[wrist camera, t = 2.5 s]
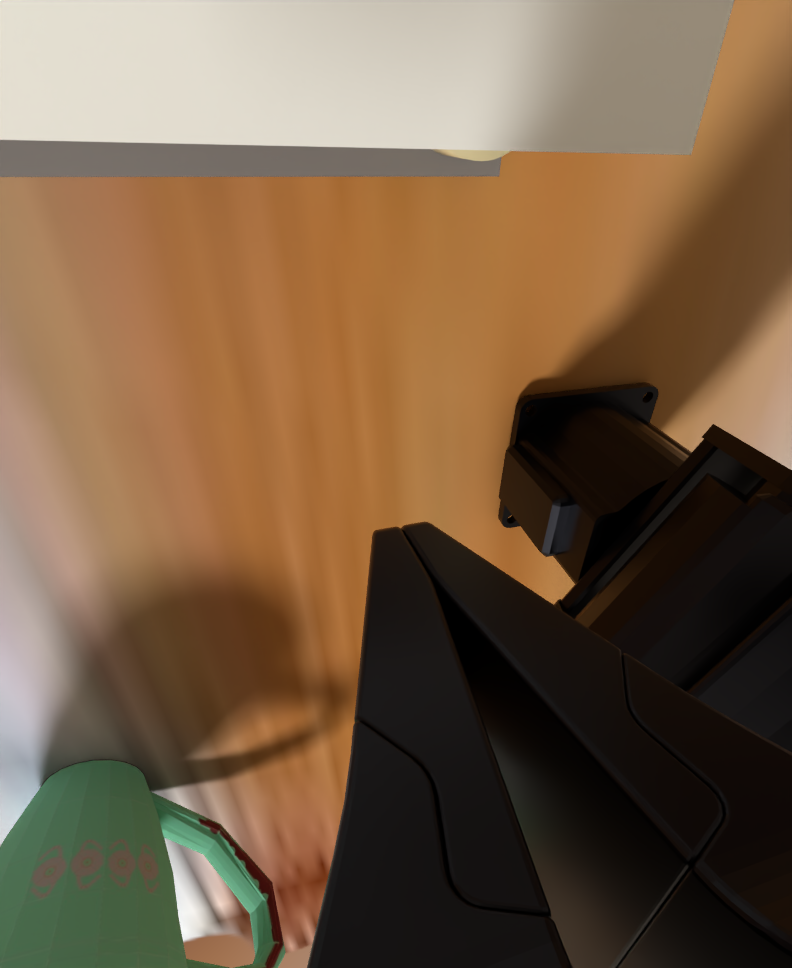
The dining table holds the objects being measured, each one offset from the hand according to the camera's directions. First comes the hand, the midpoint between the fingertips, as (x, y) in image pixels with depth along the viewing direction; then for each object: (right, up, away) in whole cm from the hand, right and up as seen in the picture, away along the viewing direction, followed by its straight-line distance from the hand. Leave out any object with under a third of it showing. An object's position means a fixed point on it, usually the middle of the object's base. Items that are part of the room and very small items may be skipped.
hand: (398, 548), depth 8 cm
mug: (-14, -15, +21) cm, 30 cm away
